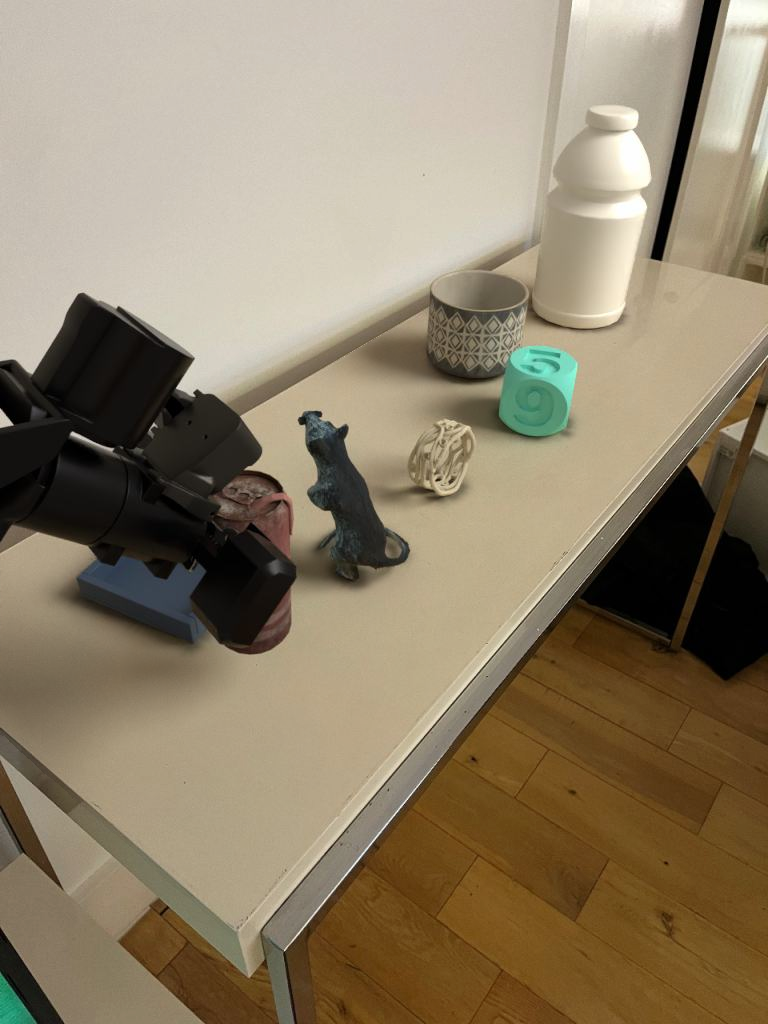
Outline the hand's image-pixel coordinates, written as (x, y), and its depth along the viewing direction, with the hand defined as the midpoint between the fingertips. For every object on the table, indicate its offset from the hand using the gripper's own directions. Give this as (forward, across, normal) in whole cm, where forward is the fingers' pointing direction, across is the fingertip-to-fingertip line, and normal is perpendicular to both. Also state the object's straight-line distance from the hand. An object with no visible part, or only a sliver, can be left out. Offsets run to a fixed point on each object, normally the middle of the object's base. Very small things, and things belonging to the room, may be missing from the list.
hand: (268, 556), depth 58 cm
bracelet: (+28, +10, -11) cm, 32 cm away
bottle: (+60, +29, -44) cm, 80 cm away
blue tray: (+8, +15, +10) cm, 19 cm away
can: (+4, 0, +6) cm, 8 cm away
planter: (+44, +27, -27) cm, 58 cm away
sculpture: (+18, +7, -1) cm, 19 cm away
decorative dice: (+41, +12, -24) cm, 49 cm away
